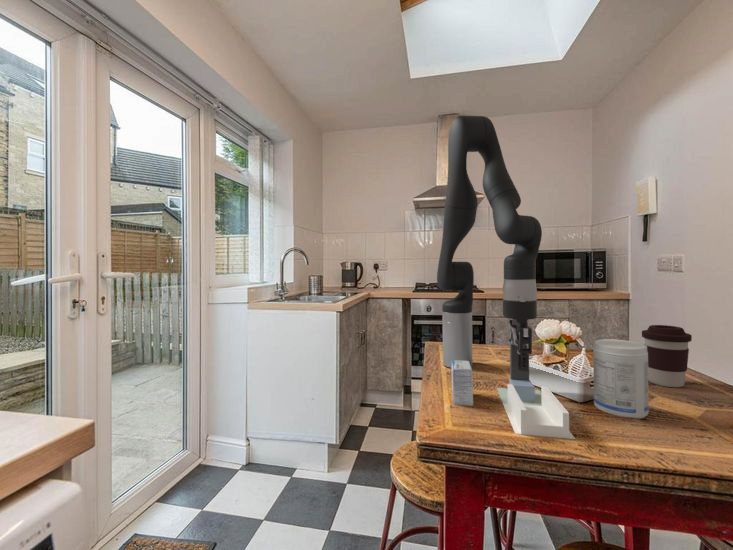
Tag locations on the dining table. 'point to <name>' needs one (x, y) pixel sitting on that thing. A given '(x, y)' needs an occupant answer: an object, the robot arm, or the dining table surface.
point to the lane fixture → (536, 413)
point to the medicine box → (462, 383)
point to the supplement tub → (621, 377)
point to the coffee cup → (667, 354)
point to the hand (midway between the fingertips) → (519, 366)
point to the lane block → (520, 377)
